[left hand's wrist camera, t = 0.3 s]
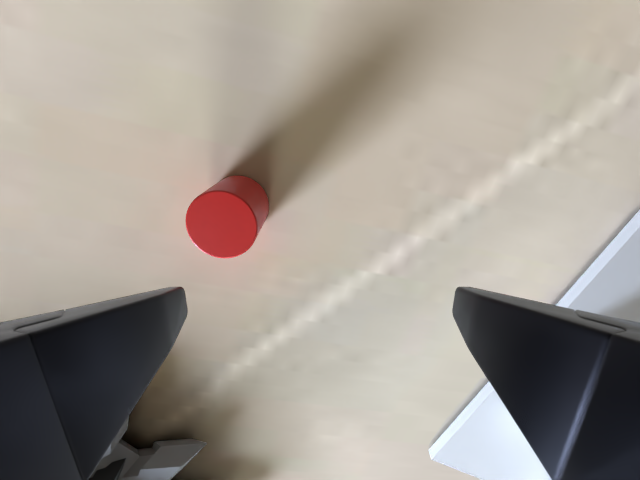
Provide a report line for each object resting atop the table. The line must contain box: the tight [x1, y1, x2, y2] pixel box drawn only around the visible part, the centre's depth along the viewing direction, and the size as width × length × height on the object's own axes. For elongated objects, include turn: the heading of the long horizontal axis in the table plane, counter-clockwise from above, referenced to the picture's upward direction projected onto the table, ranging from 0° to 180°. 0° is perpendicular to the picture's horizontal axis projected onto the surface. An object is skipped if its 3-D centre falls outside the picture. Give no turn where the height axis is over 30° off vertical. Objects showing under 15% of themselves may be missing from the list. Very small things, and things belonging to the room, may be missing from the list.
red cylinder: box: [186, 176, 269, 258], centre depth 20 cm, size 4×4×4 cm
